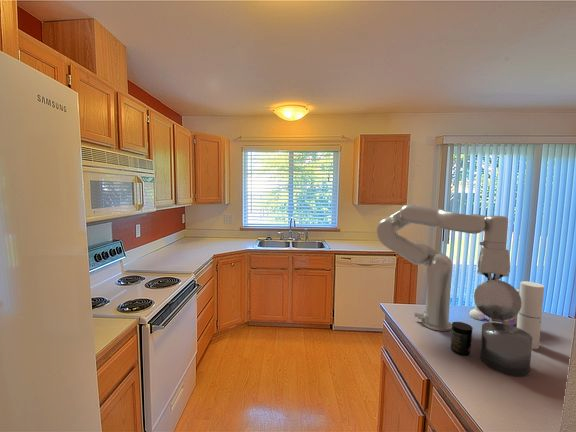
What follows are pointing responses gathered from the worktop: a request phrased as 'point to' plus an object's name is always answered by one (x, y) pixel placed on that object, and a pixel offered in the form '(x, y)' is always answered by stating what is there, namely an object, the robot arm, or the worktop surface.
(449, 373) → the worktop surface
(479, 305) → the round plate
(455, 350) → the supplement container
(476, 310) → the garlic bulb
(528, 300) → the cylindrical container
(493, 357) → the dark grey rounded block
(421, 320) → the robot arm
